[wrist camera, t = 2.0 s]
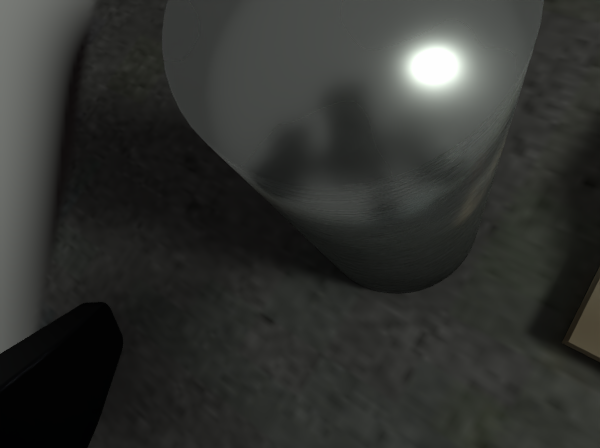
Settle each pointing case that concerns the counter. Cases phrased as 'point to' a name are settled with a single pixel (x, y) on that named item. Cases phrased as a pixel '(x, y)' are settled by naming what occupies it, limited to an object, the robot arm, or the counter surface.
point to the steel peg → (359, 117)
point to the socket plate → (587, 323)
